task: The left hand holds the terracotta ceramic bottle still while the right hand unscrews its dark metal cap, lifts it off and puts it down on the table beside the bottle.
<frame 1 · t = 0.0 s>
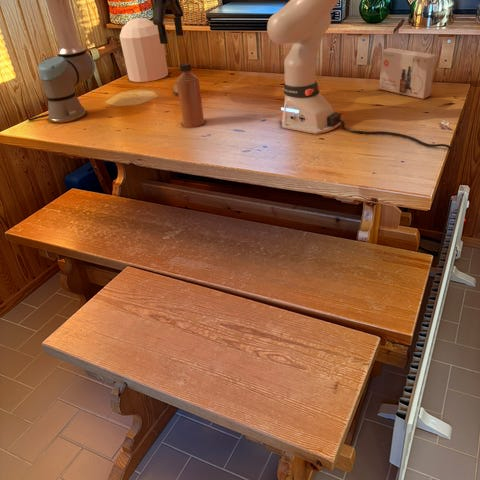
left hand: (172, 39, 178), 28 cm above the table, tool pointing down, fingers open, 13 cm apart
skincare box: (403, 93, 189), on the table
cap: (185, 65, 168), point 22 cm above the table, screwed on, not yet turned
bottle: (193, 123, 180), on the table
container: (148, 76, 243), on the table
rock: (186, 92, 214), on the table
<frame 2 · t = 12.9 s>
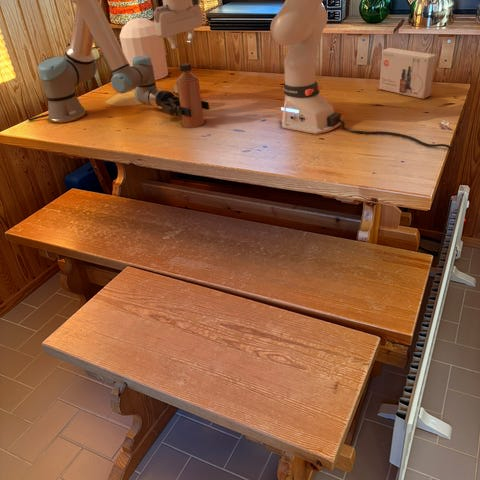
left hand: (199, 109, 174), 6 cm above the table, tool horizontal, fingers closed on bottle, 8 cm apart
right hand: (182, 45, 164), 29 cm above the table, tool pointing down, fingers open, 6 cm apart
bottle: (193, 123, 180), on the table, touching left hand
everything else where it was.
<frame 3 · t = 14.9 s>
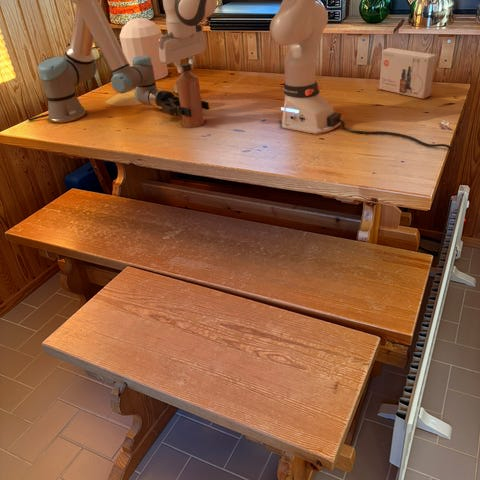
left hand: (199, 109, 174), 6 cm above the table, tool horizontal, fingers closed on bottle, 8 cm apart
right hand: (186, 70, 169), 20 cm above the table, tool pointing down, fingers closed on cap, 4 cm apart
cap: (185, 65, 168), point 22 cm above the table, screwed on, not yet turned, touching right hand
bottle: (193, 123, 180), on the table, touching left hand
everything else where it was.
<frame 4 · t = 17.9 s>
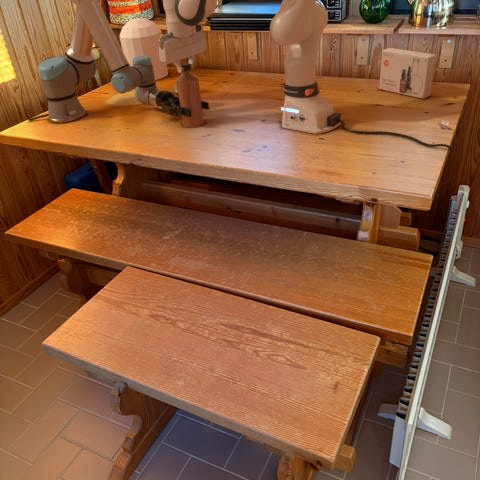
left hand: (199, 109, 174), 6 cm above the table, tool horizontal, fingers closed on bottle, 8 cm apart
right hand: (186, 70, 169), 20 cm above the table, tool pointing down, fingers closed on cap, 4 cm apart
cap: (185, 64, 168), point 22 cm above the table, turned 85° so far, risen 0.1 cm, still on its thread, touching right hand
bottle: (193, 123, 180), on the table, touching left hand
everything else where it was.
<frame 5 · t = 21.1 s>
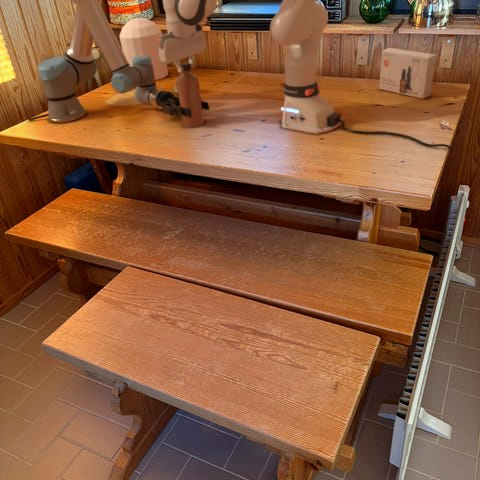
left hand: (199, 109, 174), 6 cm above the table, tool horizontal, fingers closed on bottle, 8 cm apart
right hand: (185, 70, 169), 20 cm above the table, tool pointing down, fingers closed on cap, 4 cm apart
cap: (185, 64, 168), point 22 cm above the table, turned 171° so far, risen 0.2 cm, still on its thread, touching right hand
bottle: (193, 123, 180), on the table, touching left hand
everything else where it was.
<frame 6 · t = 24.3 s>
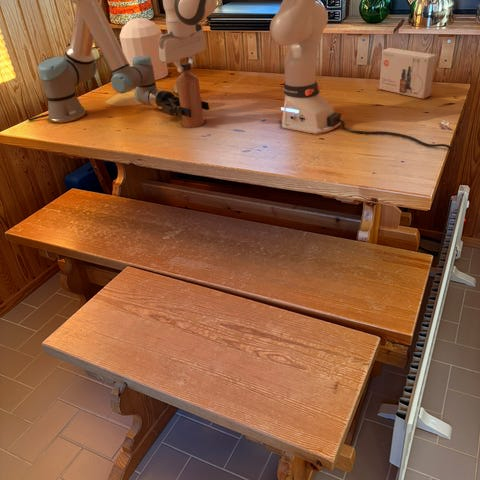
left hand: (199, 109, 174), 6 cm above the table, tool horizontal, fingers closed on bottle, 8 cm apart
right hand: (185, 69, 169), 20 cm above the table, tool pointing down, fingers closed on cap, 4 cm apart
cap: (184, 64, 168), point 22 cm above the table, turned 256° so far, risen 0.3 cm, still on its thread, touching right hand
bottle: (193, 123, 180), on the table, touching left hand
everything else where it was.
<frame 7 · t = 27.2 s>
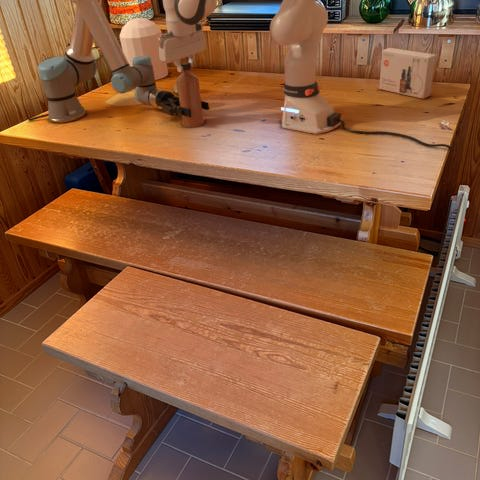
left hand: (199, 109, 174), 6 cm above the table, tool horizontal, fingers closed on bottle, 8 cm apart
right hand: (185, 69, 169), 20 cm above the table, tool pointing down, fingers closed on cap, 4 cm apart
cap: (184, 64, 168), point 22 cm above the table, turned 341° so far, risen 0.4 cm, still on its thread, touching right hand
bottle: (193, 123, 180), on the table, touching left hand
everything else where it was.
when the right hand's fingers open (2 cm above the table, at t = 37.3 s): cap drops 2 cm, point 2 cm above the table.
when the left hand's fingers open (6 cm above the table, at t = 38.5 s): bottle stays where it is, on the table.
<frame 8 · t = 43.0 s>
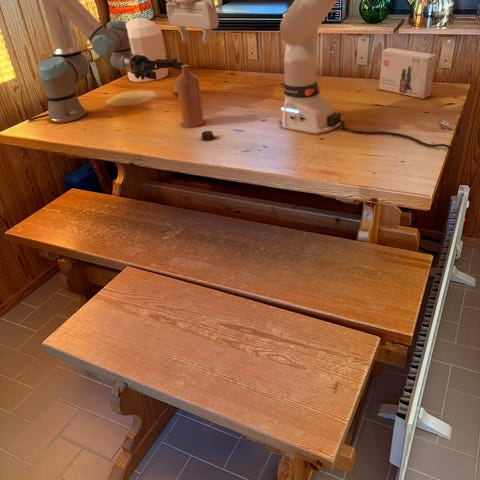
left hand: (169, 71, 176), 19 cm above the table, tool horizontal, fingers open, 13 cm apart
right hand: (195, 42, 148), 33 cm above the table, tool pointing down, fingers open, 8 cm apart
cap: (207, 133, 165), point 2 cm above the table, off its thread
bottle: (193, 123, 180), on the table
everything else where it was.
at the end: cap came off its thread; cap point 1.8 cm above the table; the left hand is holding nothing; the right hand is holding nothing; bottle tilted 0°; bottle moved 0.1 cm from its start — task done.
